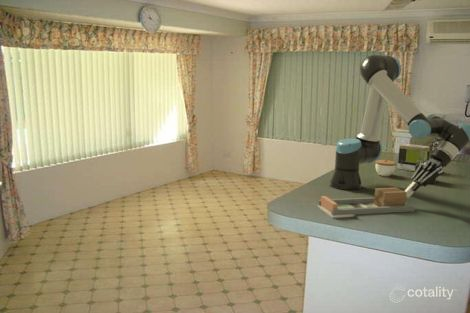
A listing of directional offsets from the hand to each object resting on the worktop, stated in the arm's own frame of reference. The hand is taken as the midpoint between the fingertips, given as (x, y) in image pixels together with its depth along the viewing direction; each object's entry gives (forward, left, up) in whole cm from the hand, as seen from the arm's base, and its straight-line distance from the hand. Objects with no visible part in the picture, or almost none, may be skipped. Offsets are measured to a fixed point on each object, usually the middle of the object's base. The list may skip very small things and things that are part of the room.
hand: (405, 195), depth 173 cm
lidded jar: (-56, +26, -6) cm, 62 cm away
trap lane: (-1, -18, -6) cm, 19 cm away
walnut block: (-1, -7, -5) cm, 8 cm away
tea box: (-67, +52, -6) cm, 85 cm away
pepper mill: (-42, +43, -6) cm, 61 cm away
